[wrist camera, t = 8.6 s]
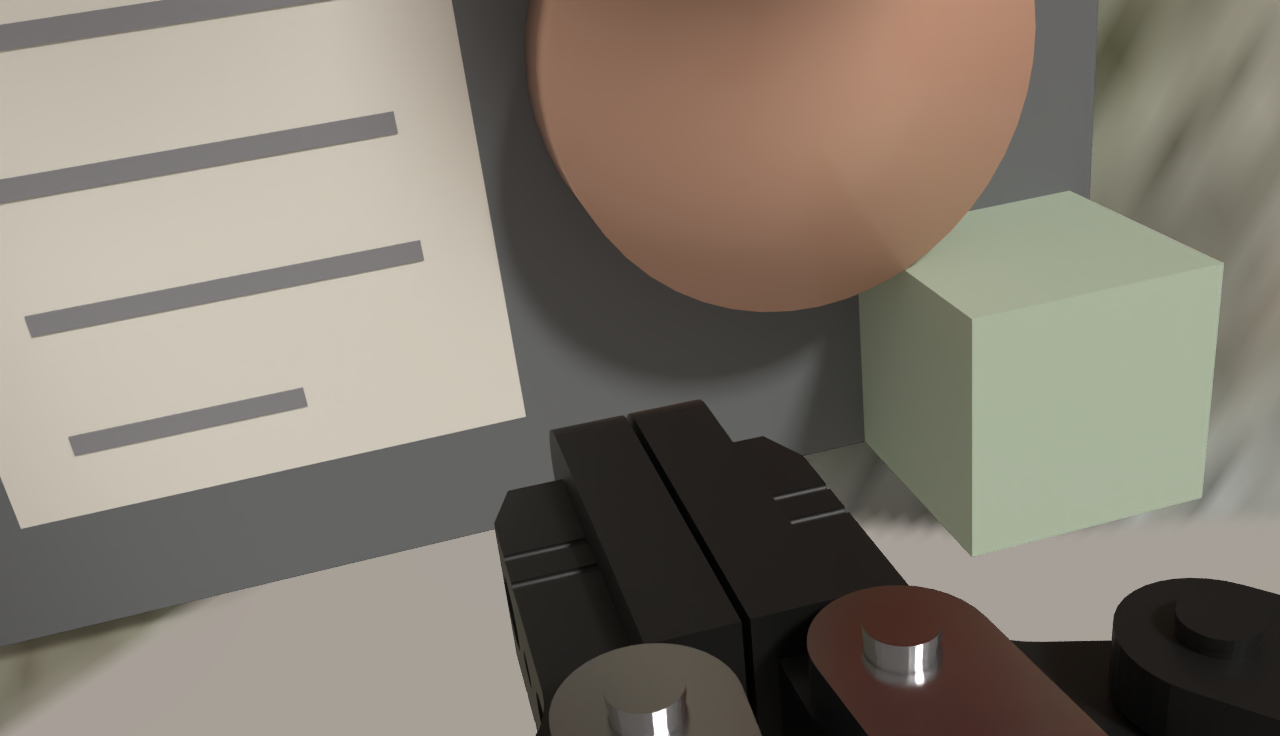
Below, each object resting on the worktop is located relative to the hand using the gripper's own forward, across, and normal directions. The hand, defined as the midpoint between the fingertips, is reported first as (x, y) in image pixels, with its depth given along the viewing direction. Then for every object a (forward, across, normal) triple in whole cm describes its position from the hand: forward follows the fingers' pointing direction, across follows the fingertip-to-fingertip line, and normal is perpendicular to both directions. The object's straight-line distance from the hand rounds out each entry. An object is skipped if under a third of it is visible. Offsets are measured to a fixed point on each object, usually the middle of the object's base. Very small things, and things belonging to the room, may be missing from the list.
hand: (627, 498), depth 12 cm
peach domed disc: (+13, -6, -2) cm, 14 cm away
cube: (+13, -10, +5) cm, 17 cm away
